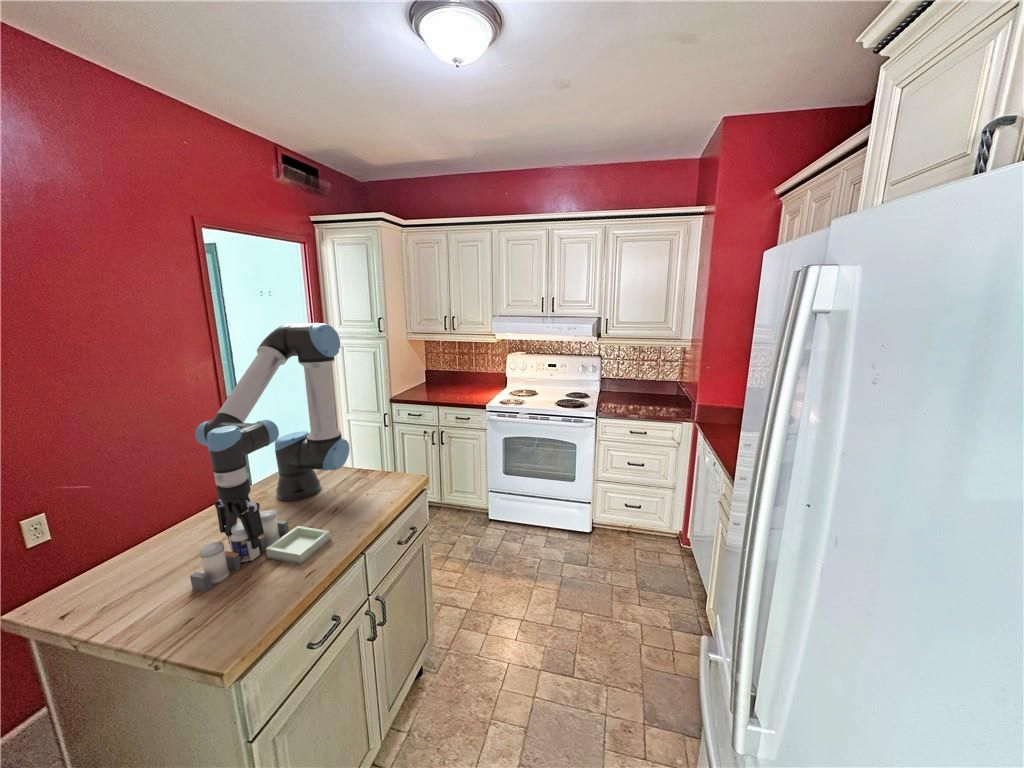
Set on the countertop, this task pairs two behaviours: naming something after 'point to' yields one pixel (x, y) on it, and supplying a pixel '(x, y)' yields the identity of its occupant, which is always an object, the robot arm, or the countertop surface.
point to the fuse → (270, 526)
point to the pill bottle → (240, 542)
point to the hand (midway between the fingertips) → (246, 555)
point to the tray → (298, 544)
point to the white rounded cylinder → (214, 562)
